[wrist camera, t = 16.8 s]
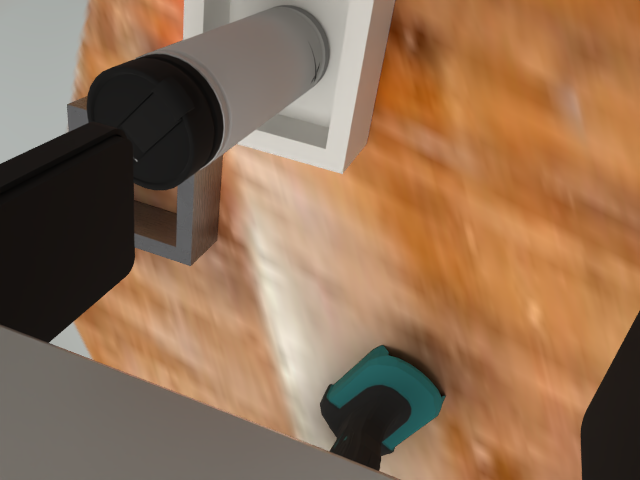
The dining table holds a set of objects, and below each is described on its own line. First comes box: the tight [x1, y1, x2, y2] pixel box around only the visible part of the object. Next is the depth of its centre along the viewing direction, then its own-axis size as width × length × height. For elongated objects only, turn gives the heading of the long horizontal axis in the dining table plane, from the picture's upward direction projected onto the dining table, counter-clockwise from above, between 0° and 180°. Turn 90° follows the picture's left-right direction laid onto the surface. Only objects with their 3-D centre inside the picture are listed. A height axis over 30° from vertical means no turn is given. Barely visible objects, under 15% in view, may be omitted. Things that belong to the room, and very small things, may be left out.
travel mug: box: [87, 5, 330, 190], centre depth 36 cm, size 6×7×20 cm
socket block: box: [67, 96, 223, 266], centre depth 55 cm, size 12×12×5 cm
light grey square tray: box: [183, 0, 395, 174], centre depth 44 cm, size 13×13×6 cm
